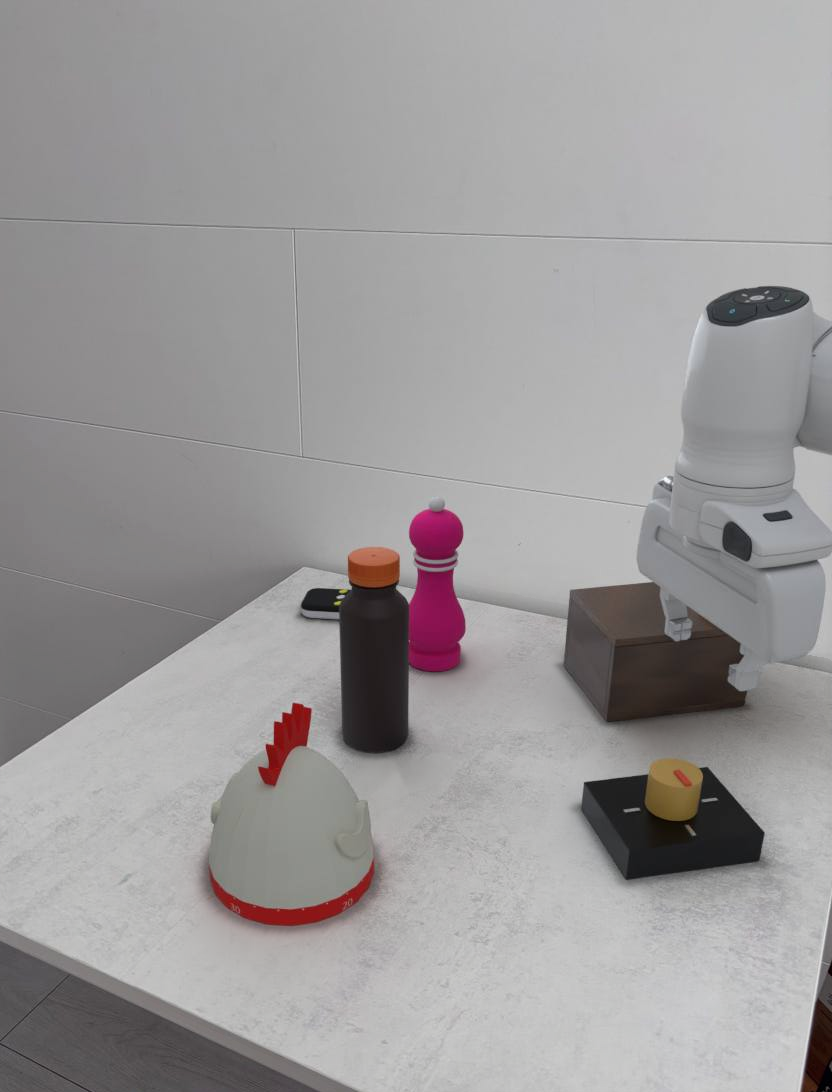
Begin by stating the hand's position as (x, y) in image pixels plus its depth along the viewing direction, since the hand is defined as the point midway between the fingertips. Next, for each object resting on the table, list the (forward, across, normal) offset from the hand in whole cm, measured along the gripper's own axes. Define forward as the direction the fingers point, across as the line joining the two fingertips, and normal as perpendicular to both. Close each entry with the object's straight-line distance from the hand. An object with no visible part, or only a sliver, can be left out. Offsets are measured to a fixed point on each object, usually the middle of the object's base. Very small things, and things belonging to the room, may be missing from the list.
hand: (707, 660), depth 87 cm
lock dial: (+12, +3, -4) cm, 13 cm away
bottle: (+15, -20, -24) cm, 34 cm away
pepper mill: (+15, -34, -12) cm, 39 cm away
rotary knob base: (+15, +3, -4) cm, 16 cm away
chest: (+15, -21, +8) cm, 27 cm away
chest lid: (+6, -21, +9) cm, 23 cm away
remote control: (+14, -50, -18) cm, 55 cm away
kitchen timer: (+15, -2, -37) cm, 40 cm away
